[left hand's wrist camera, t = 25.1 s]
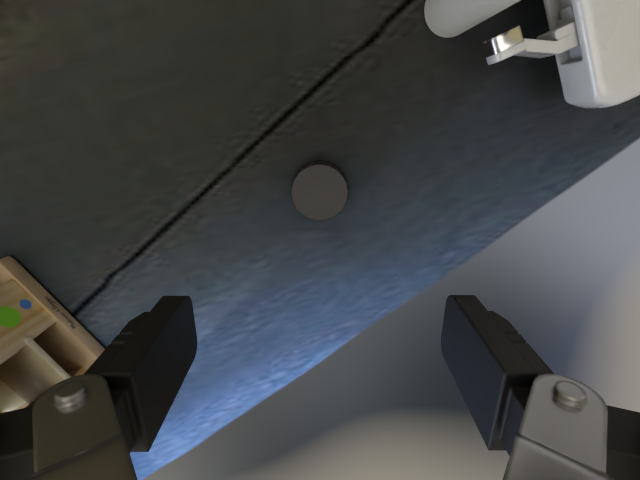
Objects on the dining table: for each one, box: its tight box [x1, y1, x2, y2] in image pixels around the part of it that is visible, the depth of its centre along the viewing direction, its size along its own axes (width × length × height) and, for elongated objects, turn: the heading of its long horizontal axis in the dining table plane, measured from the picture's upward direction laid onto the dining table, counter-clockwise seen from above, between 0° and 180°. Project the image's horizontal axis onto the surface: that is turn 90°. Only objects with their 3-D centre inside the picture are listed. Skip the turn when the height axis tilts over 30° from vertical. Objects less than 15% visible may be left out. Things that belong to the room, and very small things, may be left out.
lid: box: [291, 160, 349, 220], centre depth 32 cm, size 5×5×2 cm
